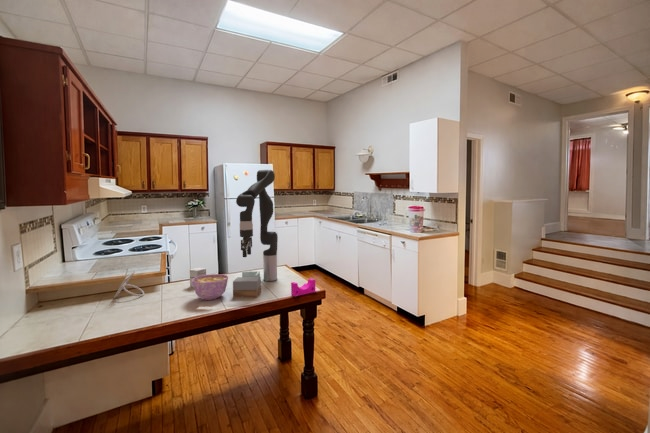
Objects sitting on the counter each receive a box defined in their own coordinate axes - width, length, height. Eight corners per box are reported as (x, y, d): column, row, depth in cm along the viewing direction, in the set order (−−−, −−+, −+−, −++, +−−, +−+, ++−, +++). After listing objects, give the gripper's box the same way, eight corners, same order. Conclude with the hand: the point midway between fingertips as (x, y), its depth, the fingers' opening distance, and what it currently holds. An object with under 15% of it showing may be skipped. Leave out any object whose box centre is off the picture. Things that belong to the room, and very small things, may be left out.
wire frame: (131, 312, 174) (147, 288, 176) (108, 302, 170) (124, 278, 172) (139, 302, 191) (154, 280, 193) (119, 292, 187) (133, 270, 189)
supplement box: (189, 288, 197) (189, 269, 197) (199, 286, 204) (198, 267, 203) (197, 290, 194) (196, 270, 193) (206, 287, 200) (206, 268, 200)
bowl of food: (205, 291, 190) (205, 273, 189) (235, 293, 186) (234, 274, 185) (184, 302, 170) (183, 281, 170) (217, 304, 166) (216, 283, 166)
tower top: (237, 285, 187) (237, 277, 187) (260, 285, 187) (260, 276, 187) (233, 290, 177) (232, 281, 177) (257, 289, 177) (257, 281, 177)
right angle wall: (242, 282, 213) (242, 271, 212) (260, 281, 213) (259, 271, 213) (238, 286, 201) (238, 275, 200) (257, 286, 201) (256, 275, 201)
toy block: (309, 289, 193) (309, 277, 193) (315, 291, 188) (315, 279, 188) (289, 293, 184) (289, 281, 184) (294, 296, 179) (294, 283, 179)
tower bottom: (238, 293, 188) (238, 285, 188) (261, 293, 187) (261, 285, 187) (233, 298, 178) (232, 289, 178) (256, 298, 177) (256, 289, 177)
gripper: (243, 227, 188) (244, 253, 189) (235, 229, 174) (236, 258, 175) (255, 227, 188) (256, 253, 189) (248, 229, 174) (249, 258, 174)
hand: (247, 255), depth 182 cm, fingers open, 8 cm apart
